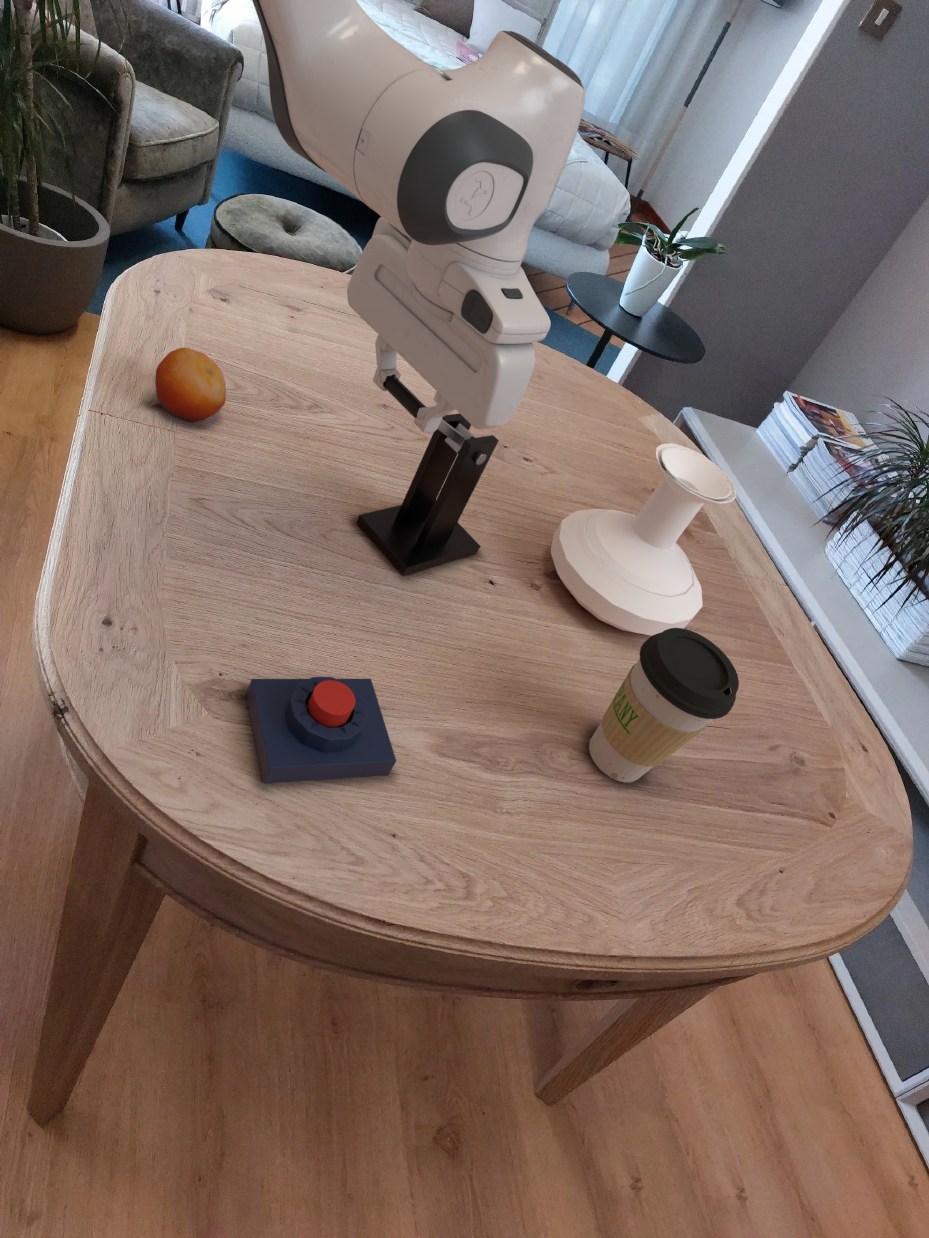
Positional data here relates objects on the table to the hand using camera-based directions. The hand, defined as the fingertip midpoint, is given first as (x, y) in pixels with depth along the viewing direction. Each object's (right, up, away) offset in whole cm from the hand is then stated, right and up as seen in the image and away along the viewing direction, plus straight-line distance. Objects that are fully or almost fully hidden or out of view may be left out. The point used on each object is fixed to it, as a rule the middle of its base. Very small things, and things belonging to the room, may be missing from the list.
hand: (403, 407), depth 77 cm
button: (-6, -27, -7) cm, 29 cm away
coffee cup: (+21, -34, +8) cm, 41 cm away
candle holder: (+24, -16, +28) cm, 41 cm away
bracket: (0, -10, +20) cm, 23 cm away
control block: (-7, -30, -5) cm, 31 cm away
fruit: (-27, +5, +20) cm, 34 cm away
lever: (+2, -1, +6) cm, 6 cm away
